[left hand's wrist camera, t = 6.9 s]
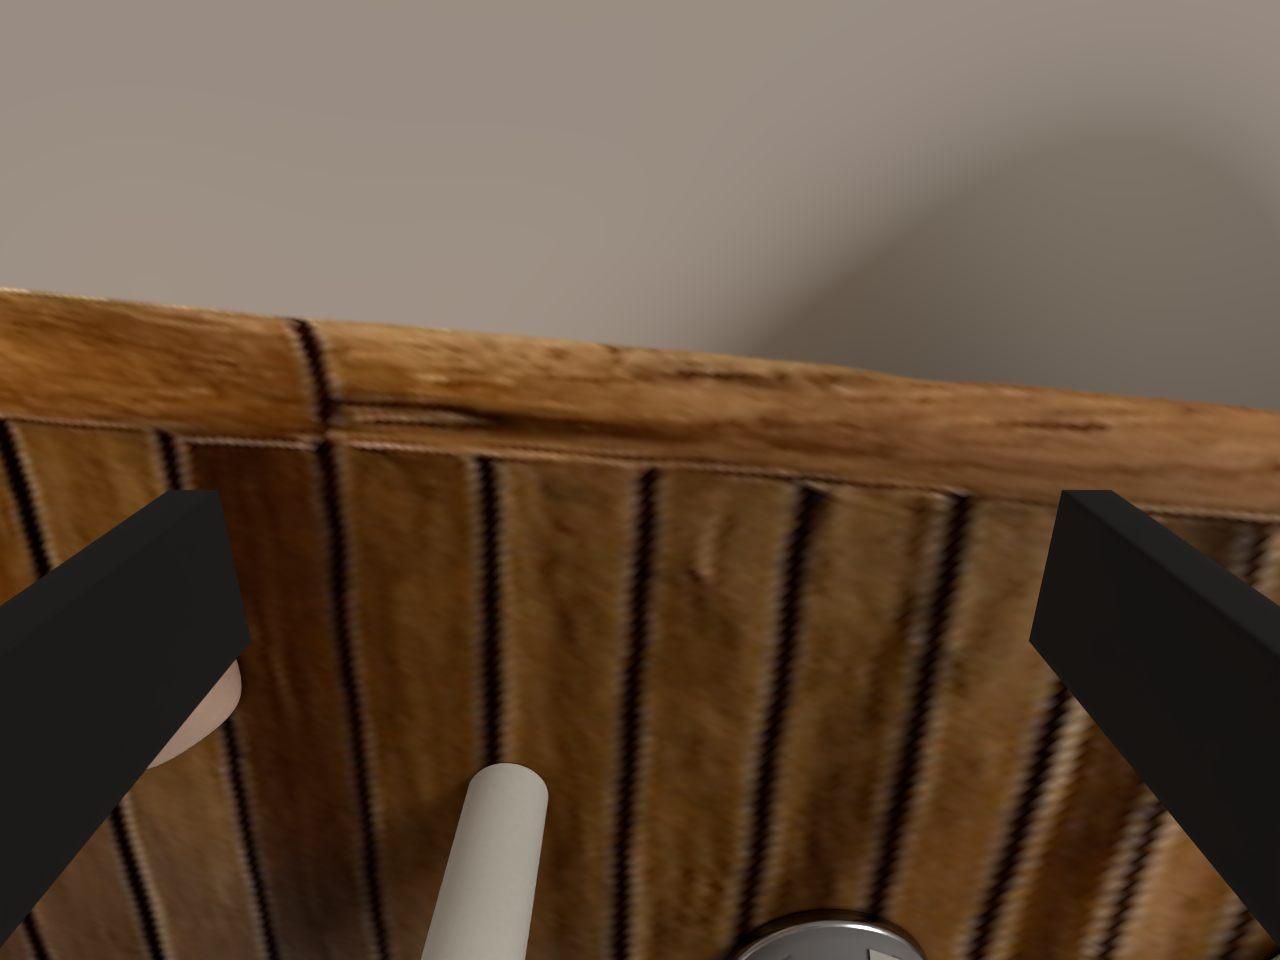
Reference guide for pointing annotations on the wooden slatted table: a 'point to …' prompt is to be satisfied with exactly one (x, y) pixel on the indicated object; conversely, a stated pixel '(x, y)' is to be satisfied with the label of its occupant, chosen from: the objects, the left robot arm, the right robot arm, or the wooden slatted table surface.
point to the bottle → (491, 869)
